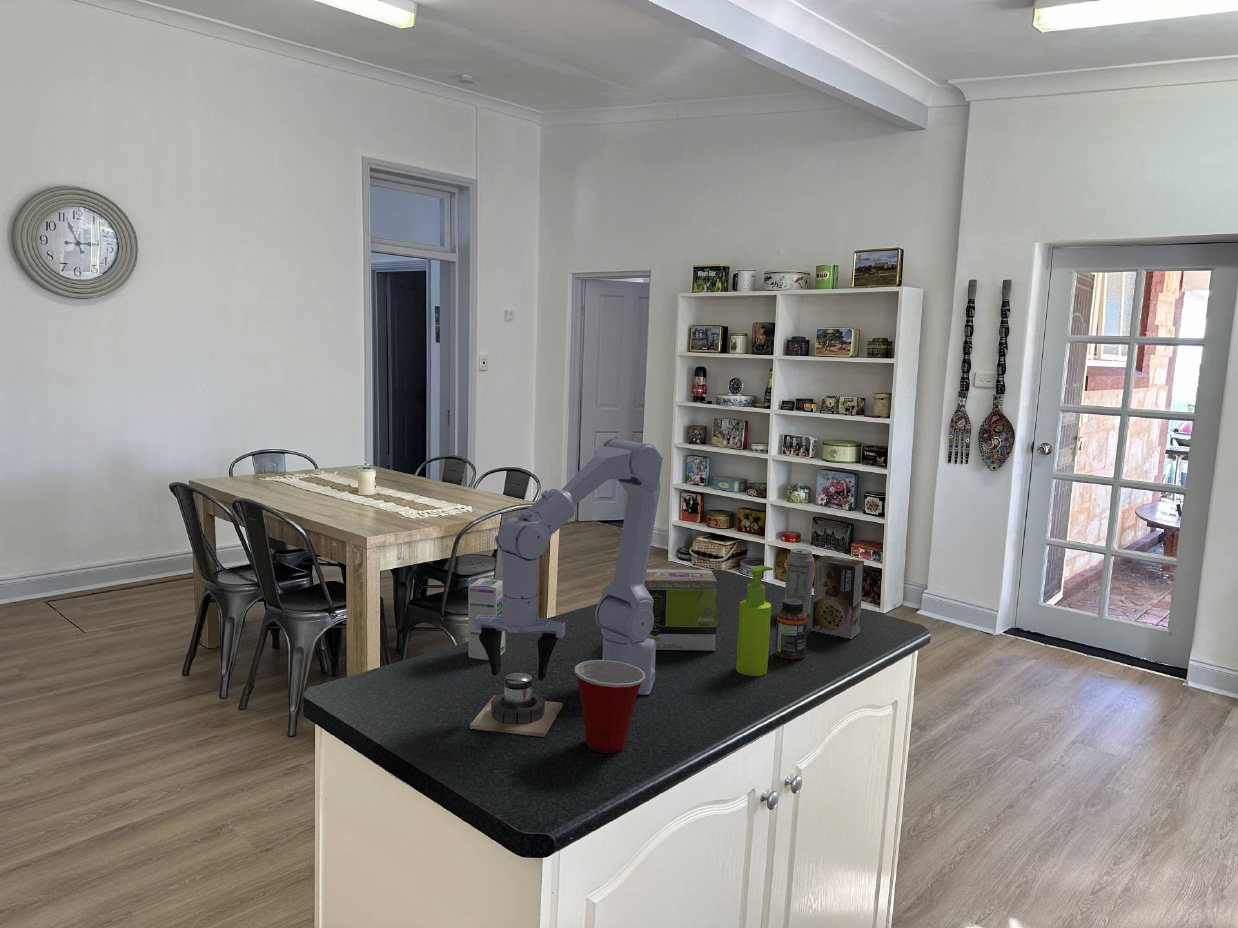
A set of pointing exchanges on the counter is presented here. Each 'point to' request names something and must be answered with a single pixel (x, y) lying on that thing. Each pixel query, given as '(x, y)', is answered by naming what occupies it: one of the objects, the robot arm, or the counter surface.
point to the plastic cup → (607, 701)
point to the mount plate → (517, 729)
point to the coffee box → (837, 596)
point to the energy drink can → (800, 577)
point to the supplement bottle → (791, 630)
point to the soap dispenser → (754, 627)
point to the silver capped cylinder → (517, 691)
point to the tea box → (683, 608)
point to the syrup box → (483, 612)
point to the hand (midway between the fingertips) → (519, 675)
